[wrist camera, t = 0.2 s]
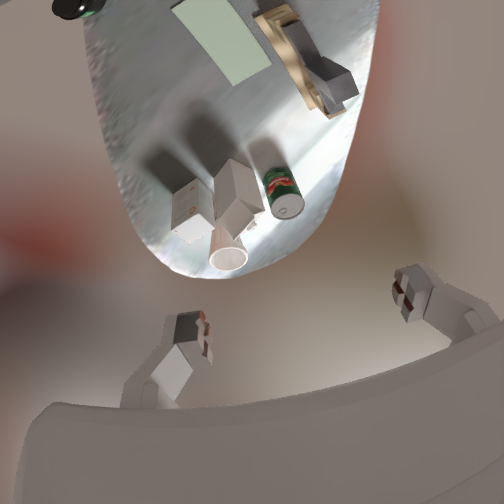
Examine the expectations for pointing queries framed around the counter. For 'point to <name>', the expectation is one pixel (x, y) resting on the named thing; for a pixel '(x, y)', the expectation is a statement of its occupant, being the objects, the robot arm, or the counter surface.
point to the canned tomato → (283, 193)
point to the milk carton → (237, 198)
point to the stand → (290, 54)
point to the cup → (226, 250)
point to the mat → (223, 37)
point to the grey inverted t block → (321, 69)
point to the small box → (192, 211)
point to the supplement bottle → (76, 8)
